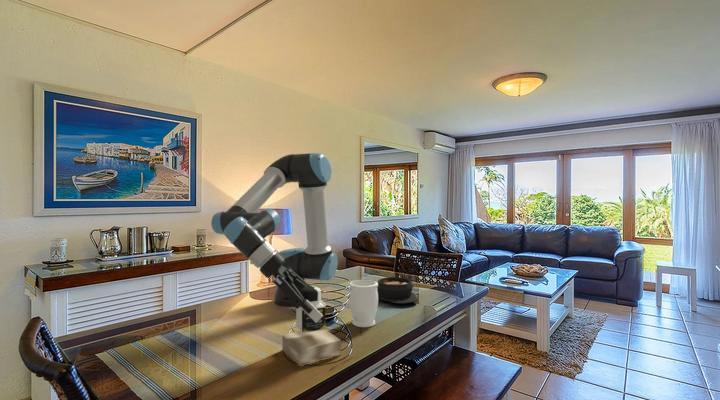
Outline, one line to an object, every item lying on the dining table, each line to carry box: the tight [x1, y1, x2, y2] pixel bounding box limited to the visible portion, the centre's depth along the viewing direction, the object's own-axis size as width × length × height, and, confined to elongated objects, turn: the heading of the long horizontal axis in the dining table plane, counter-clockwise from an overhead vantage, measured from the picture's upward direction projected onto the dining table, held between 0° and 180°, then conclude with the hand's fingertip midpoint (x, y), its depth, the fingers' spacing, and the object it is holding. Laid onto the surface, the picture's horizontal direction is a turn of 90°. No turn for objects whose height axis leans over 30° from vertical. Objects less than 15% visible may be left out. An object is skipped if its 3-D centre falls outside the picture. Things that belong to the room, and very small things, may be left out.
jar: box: [349, 279, 379, 328], centre depth 131 cm, size 11×10×15 cm
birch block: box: [281, 329, 342, 366], centre depth 107 cm, size 13×13×5 cm
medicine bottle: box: [295, 285, 326, 333], centre depth 107 cm, size 7×7×12 cm
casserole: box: [377, 276, 418, 305], centre depth 161 cm, size 25×19×8 cm
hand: (321, 313), depth 107 cm, fingers closed on medicine bottle, 9 cm apart
